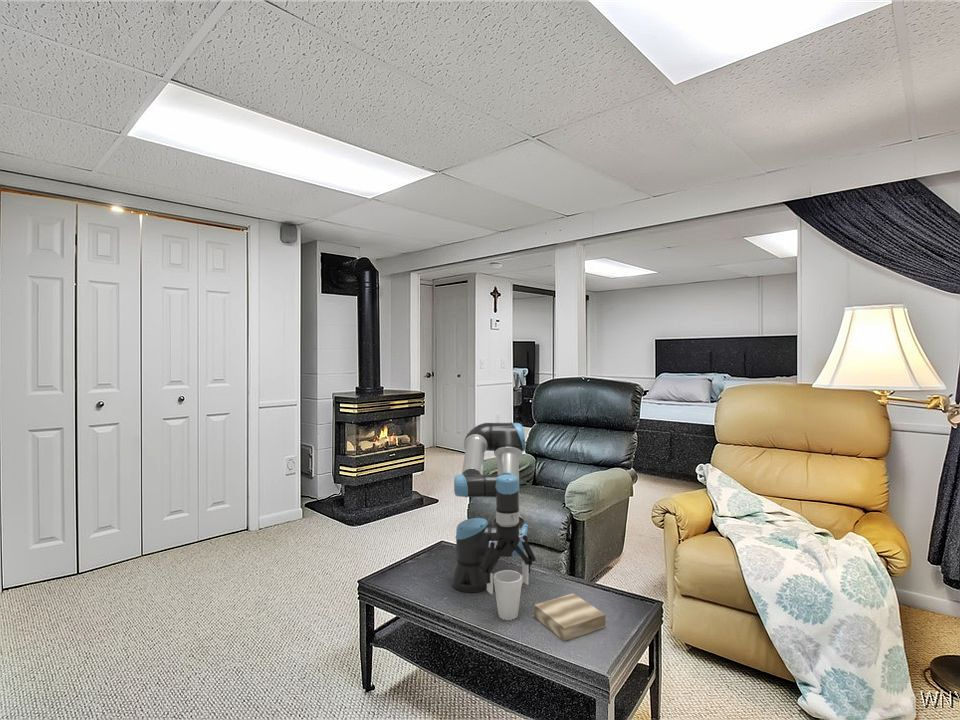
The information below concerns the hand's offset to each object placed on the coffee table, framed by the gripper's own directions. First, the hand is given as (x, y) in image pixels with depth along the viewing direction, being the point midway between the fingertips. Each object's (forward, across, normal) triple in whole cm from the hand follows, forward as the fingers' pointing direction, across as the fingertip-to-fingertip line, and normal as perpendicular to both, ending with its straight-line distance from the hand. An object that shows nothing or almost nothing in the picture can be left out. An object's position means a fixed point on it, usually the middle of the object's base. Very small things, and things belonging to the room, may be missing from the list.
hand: (508, 587), depth 171 cm
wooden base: (+9, +15, -12) cm, 22 cm away
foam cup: (+10, 0, 0) cm, 10 cm away
